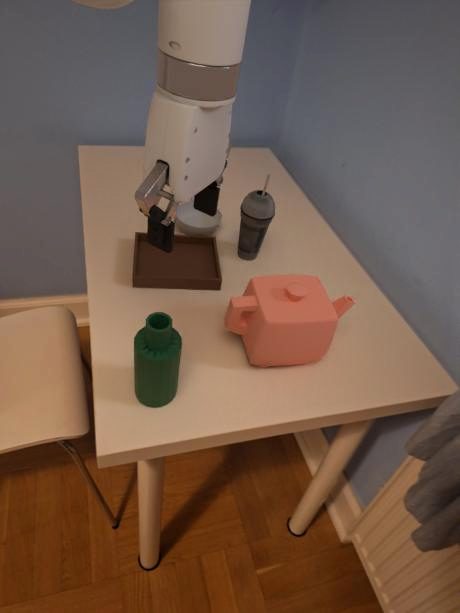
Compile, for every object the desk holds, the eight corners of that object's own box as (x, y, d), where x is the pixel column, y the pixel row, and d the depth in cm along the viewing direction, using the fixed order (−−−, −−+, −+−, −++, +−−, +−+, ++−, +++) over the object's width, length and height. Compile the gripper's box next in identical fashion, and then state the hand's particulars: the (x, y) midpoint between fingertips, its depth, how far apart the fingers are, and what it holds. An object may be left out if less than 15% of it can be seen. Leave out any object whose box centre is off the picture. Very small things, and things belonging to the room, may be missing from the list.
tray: (132, 287, 78) (132, 276, 76) (135, 242, 88) (135, 231, 86) (220, 290, 81) (222, 280, 79) (213, 246, 91) (215, 236, 89)
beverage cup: (256, 243, 94) (276, 162, 80) (267, 263, 90) (291, 181, 76) (227, 245, 92) (242, 162, 78) (237, 266, 87) (256, 182, 73)
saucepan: (177, 240, 90) (178, 226, 88) (168, 197, 102) (169, 183, 100) (224, 240, 93) (226, 226, 90) (209, 198, 105) (211, 184, 102)
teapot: (321, 316, 81) (347, 261, 71) (346, 368, 72) (379, 314, 62) (213, 320, 75) (225, 262, 65) (226, 377, 67) (242, 320, 57)
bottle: (133, 408, 60) (132, 340, 49) (135, 372, 65) (134, 303, 53) (176, 407, 62) (185, 341, 50) (175, 372, 66) (183, 304, 55)
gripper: (210, 49, 44) (195, 190, 56) (101, 81, 33) (111, 249, 45) (272, 70, 42) (242, 211, 54) (179, 112, 31) (168, 278, 43)
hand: (183, 228), depth 49 cm, fingers open, 9 cm apart
